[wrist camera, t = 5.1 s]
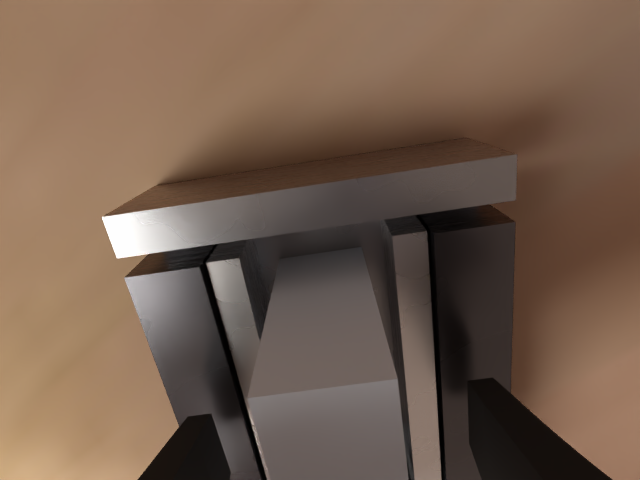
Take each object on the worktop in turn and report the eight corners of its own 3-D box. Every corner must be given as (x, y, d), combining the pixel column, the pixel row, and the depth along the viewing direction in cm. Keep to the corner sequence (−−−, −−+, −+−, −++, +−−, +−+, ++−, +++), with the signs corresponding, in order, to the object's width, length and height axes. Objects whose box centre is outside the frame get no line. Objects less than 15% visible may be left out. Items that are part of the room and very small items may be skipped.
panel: (361, 246, 11) (398, 378, 6) (385, 429, 14) (425, 632, 9) (279, 259, 11) (247, 398, 6) (317, 437, 14) (317, 642, 9)
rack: (466, 137, 11) (524, 156, 8) (471, 451, 15) (510, 543, 12) (155, 185, 11) (94, 221, 8) (245, 477, 16) (227, 572, 13)
